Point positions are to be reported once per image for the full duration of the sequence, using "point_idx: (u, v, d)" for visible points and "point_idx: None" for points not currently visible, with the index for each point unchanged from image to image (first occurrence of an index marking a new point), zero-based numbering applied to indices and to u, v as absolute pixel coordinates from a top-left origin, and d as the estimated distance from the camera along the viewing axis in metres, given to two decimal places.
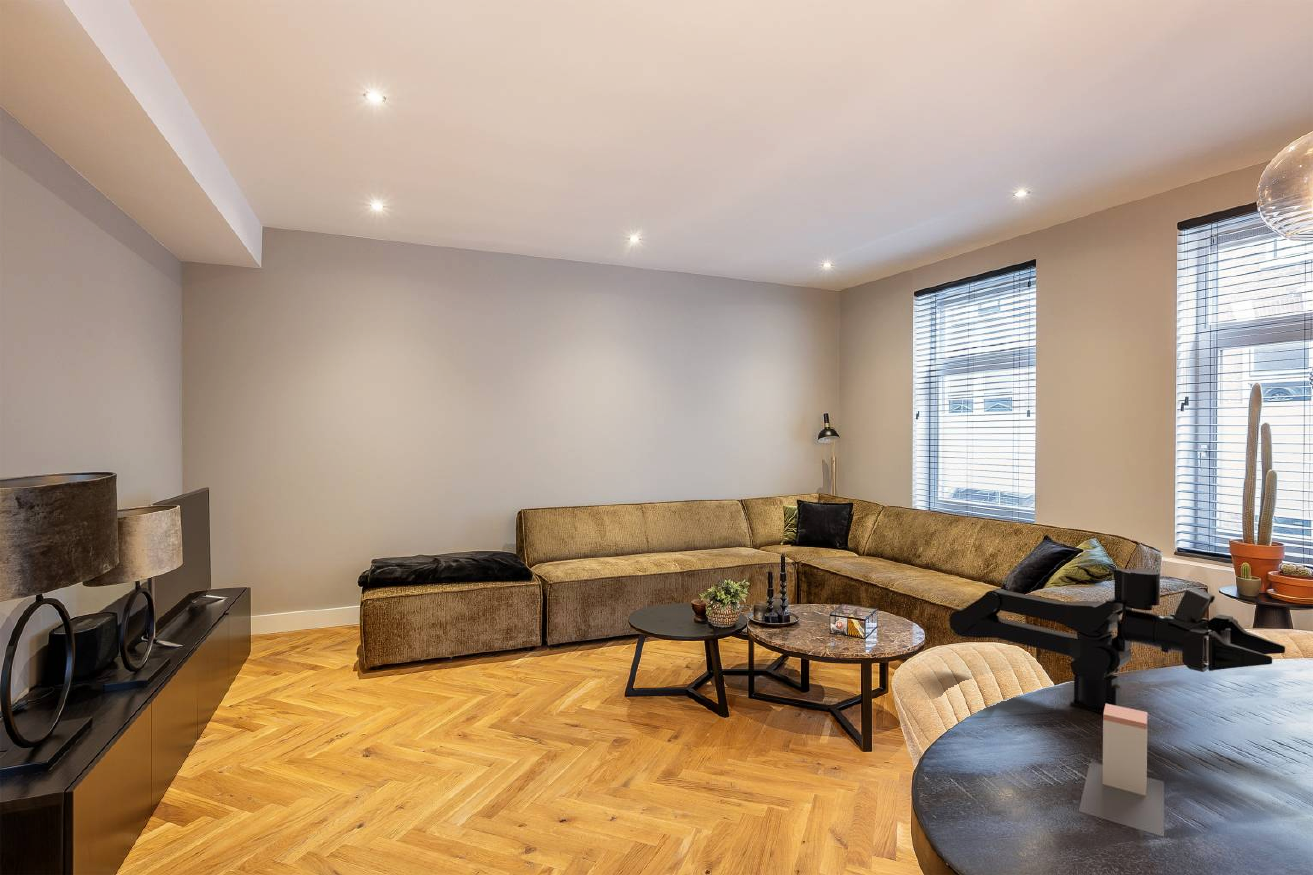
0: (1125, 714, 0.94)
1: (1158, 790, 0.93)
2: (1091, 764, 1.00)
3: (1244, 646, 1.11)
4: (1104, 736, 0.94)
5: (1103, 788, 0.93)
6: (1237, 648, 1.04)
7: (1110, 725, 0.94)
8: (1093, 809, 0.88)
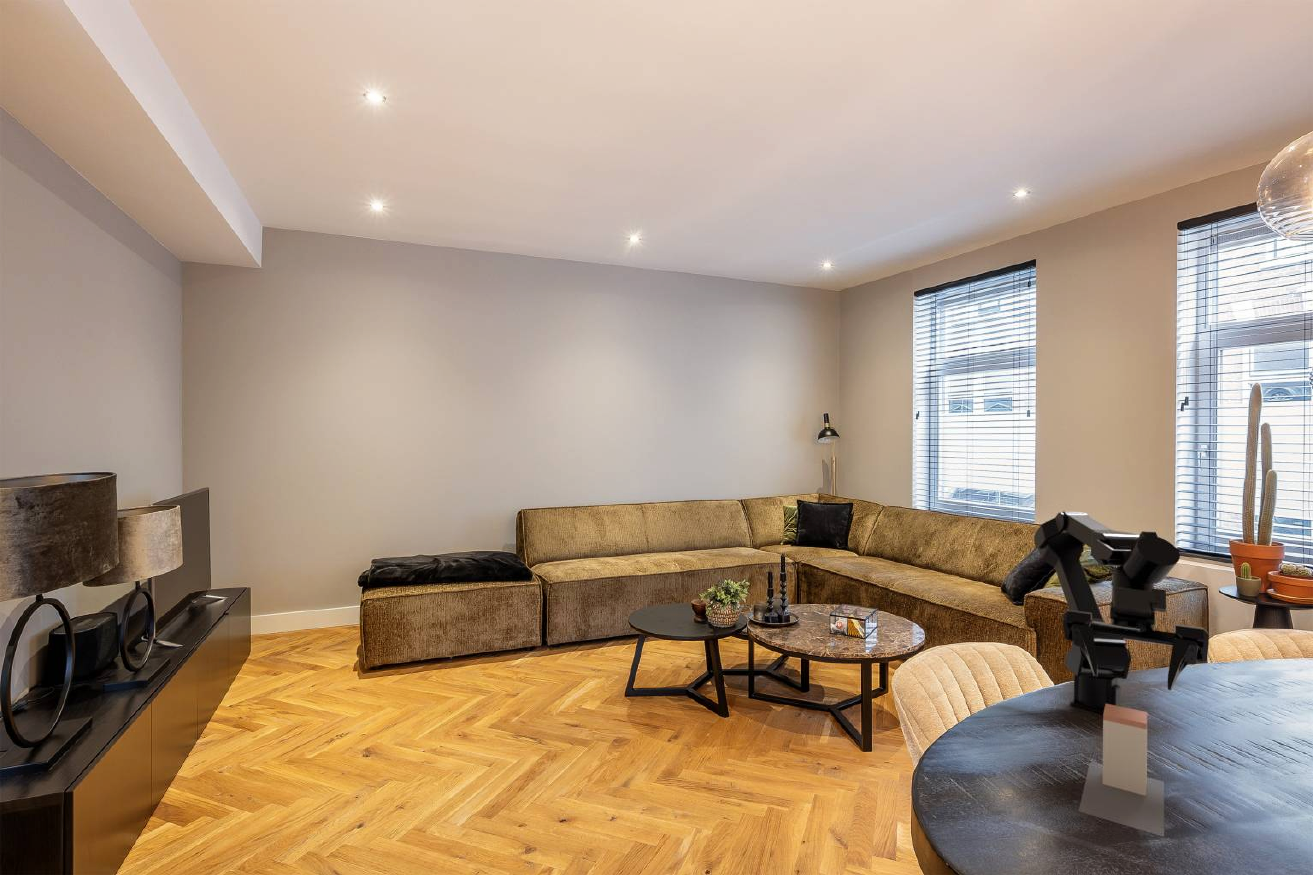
0: (1125, 714, 0.94)
1: (1158, 790, 0.93)
2: (1091, 764, 1.00)
3: None
4: (1104, 736, 0.94)
5: (1103, 788, 0.93)
6: (1086, 648, 1.06)
7: (1110, 725, 0.94)
8: (1093, 809, 0.88)
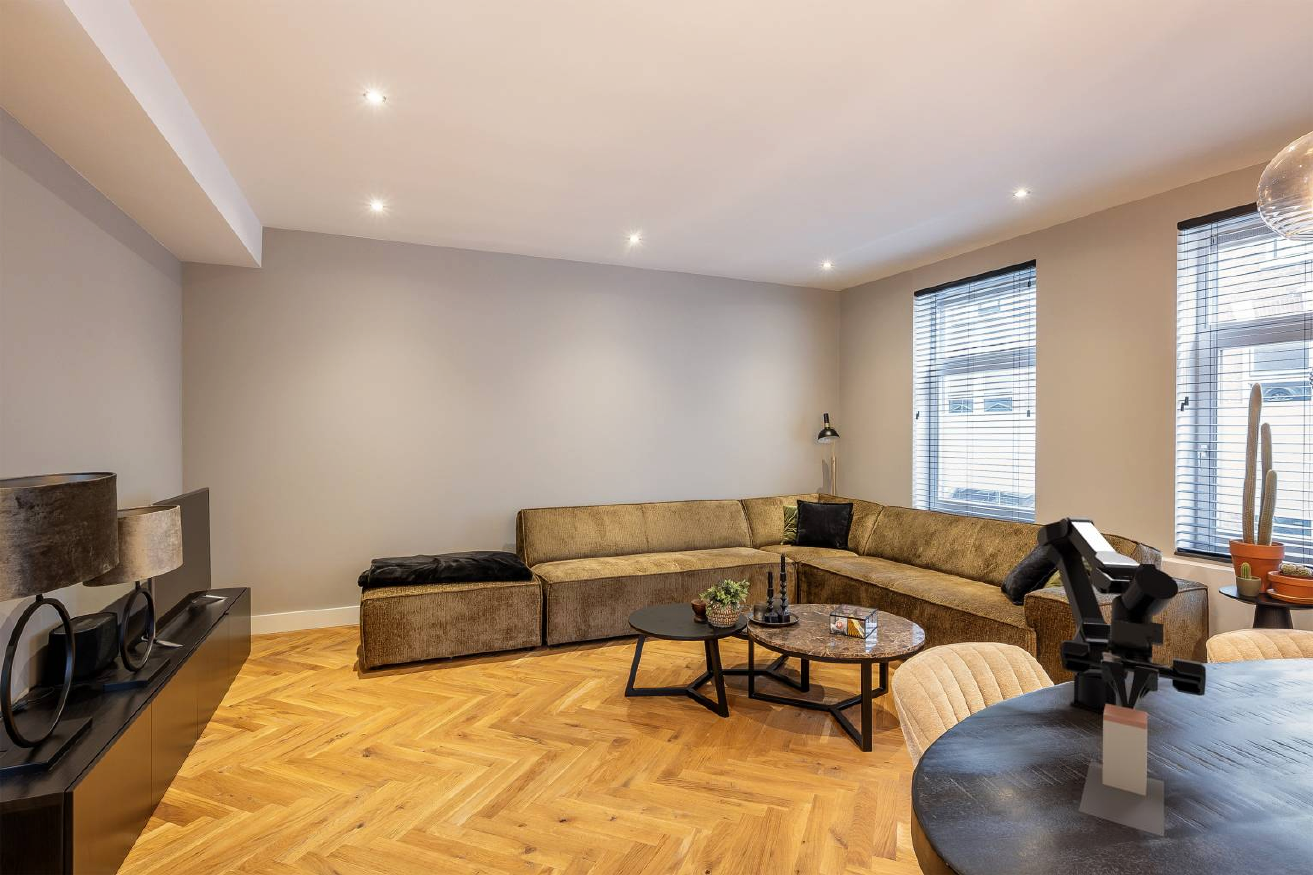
0: (1125, 714, 0.94)
1: (1158, 790, 0.93)
2: (1091, 764, 1.00)
3: None
4: (1104, 736, 0.94)
5: (1103, 788, 0.93)
6: (1116, 687, 1.04)
7: (1110, 725, 0.94)
8: (1093, 809, 0.88)
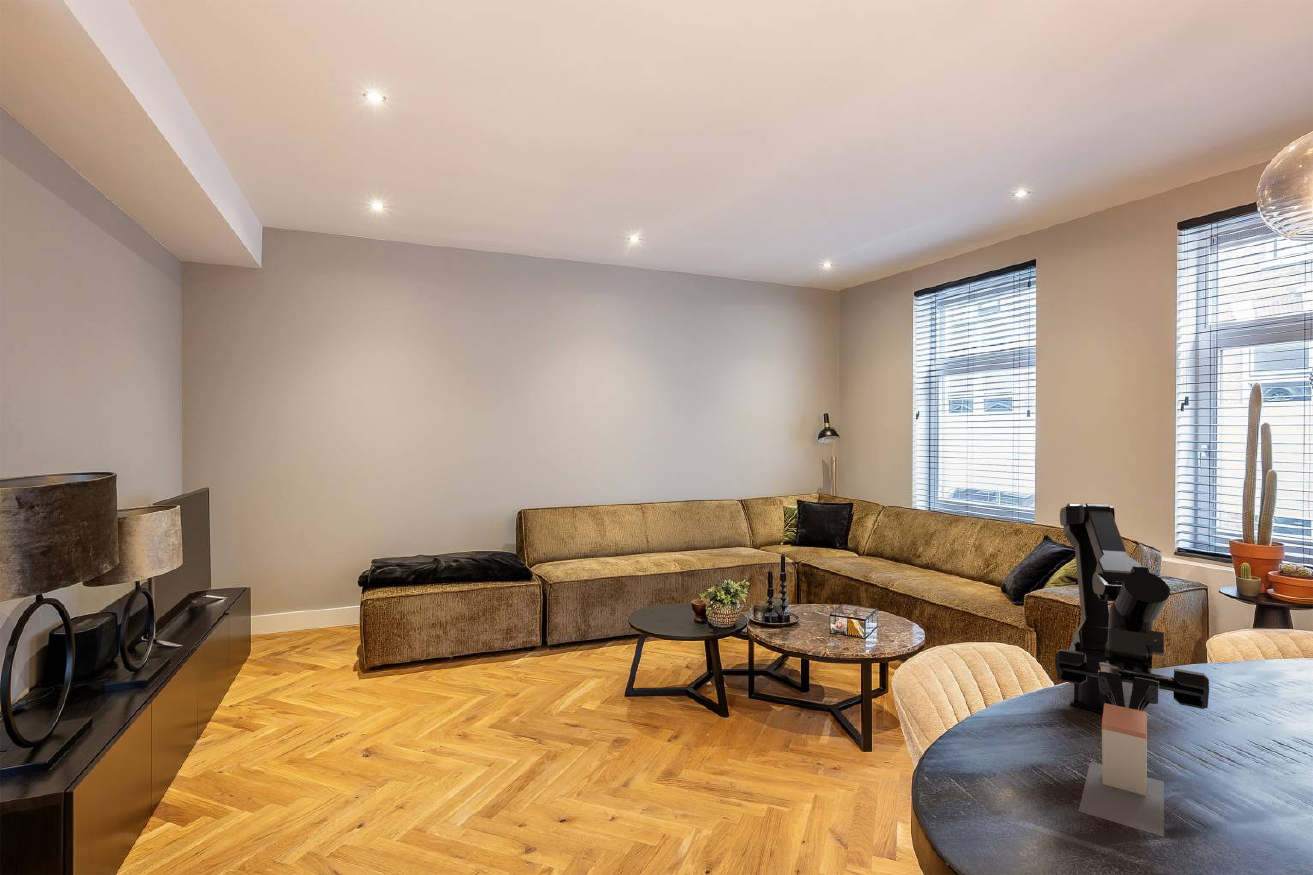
0: (1125, 720, 0.92)
1: (1158, 790, 0.93)
2: (1091, 764, 1.00)
3: None
4: (1103, 743, 0.93)
5: (1103, 788, 0.93)
6: (1114, 699, 0.98)
7: (1109, 734, 0.92)
8: (1093, 809, 0.88)
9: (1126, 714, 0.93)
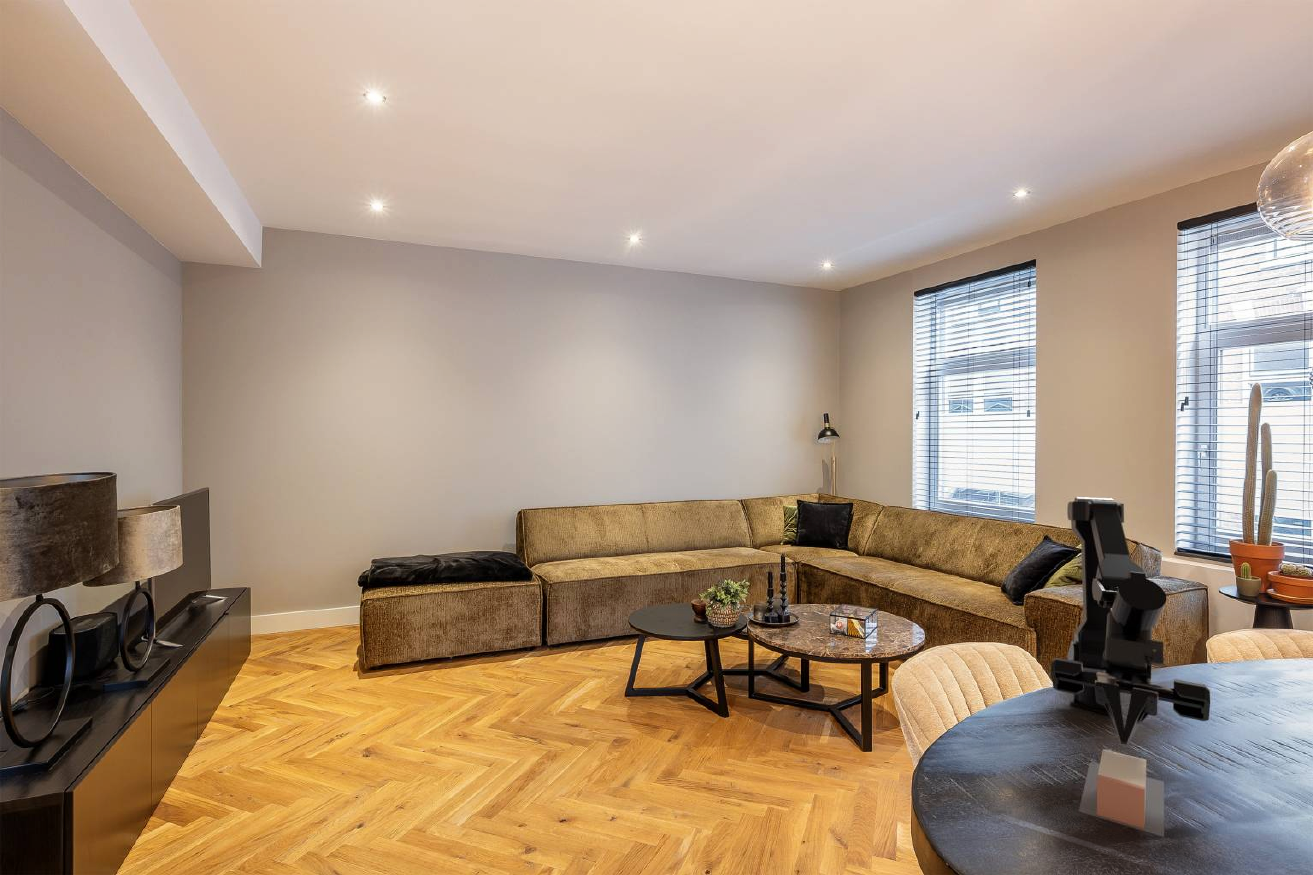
0: (1121, 807, 0.85)
1: (1158, 790, 0.93)
2: (1091, 764, 1.00)
3: None
4: None
5: None
6: (1112, 710, 0.94)
7: None
8: (1093, 809, 0.88)
9: (1122, 795, 0.85)
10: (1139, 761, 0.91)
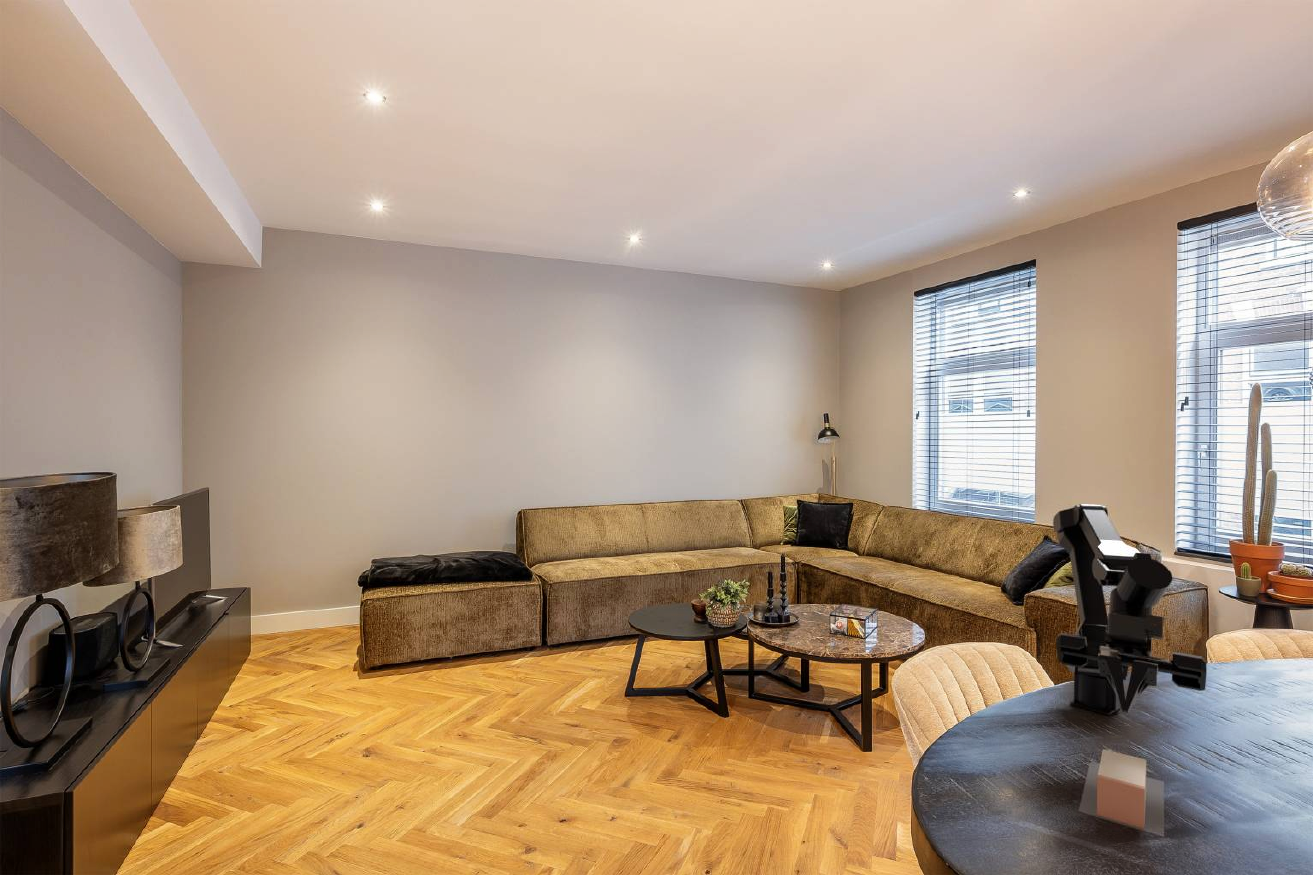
0: (1121, 807, 0.85)
1: (1158, 790, 0.93)
2: (1091, 764, 1.00)
3: None
4: None
5: None
6: (1114, 681, 1.00)
7: None
8: (1093, 809, 0.88)
9: (1122, 795, 0.85)
10: (1139, 761, 0.91)
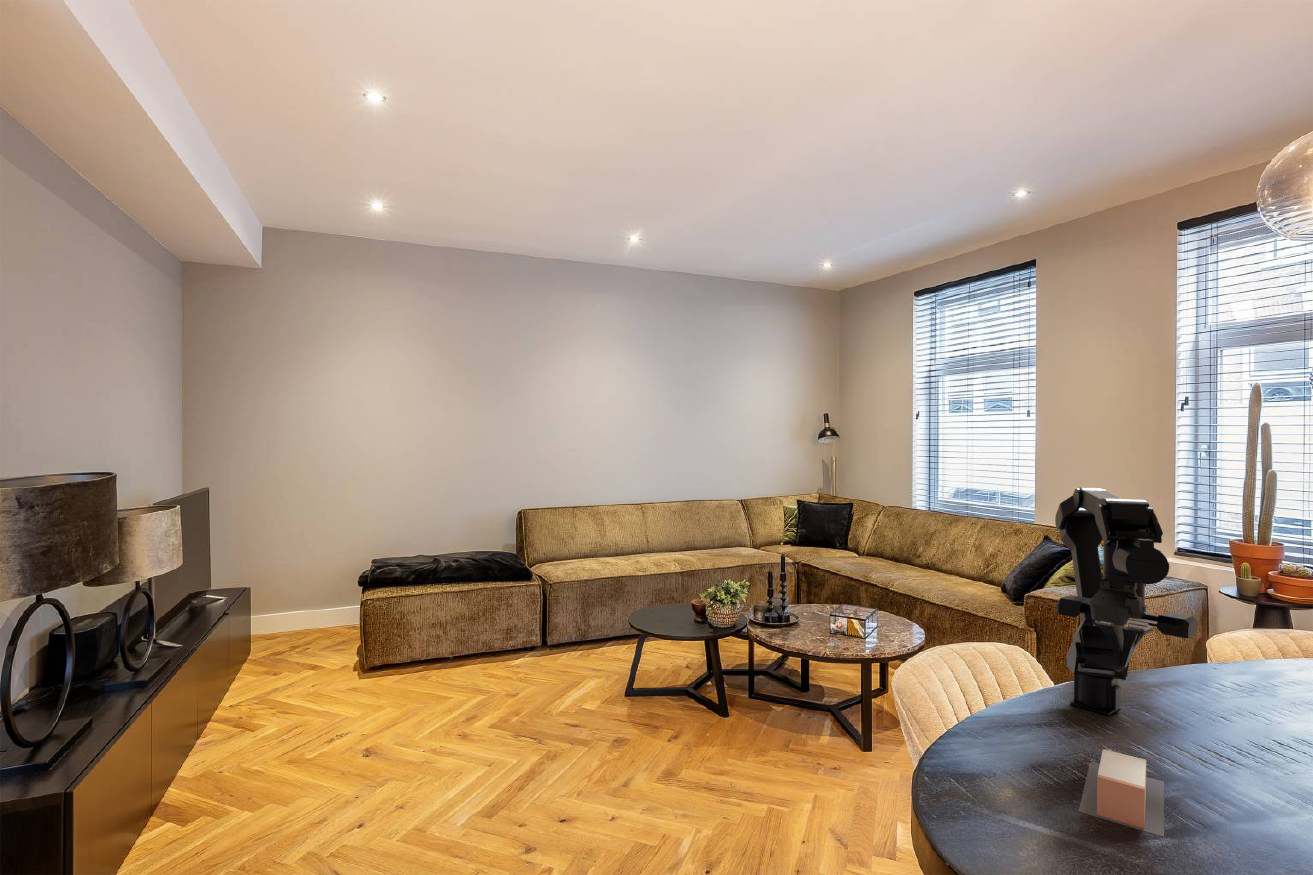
0: (1121, 807, 0.85)
1: (1158, 790, 0.93)
2: (1091, 764, 1.00)
3: None
4: None
5: None
6: (1110, 642, 1.11)
7: None
8: (1093, 809, 0.88)
9: (1122, 795, 0.85)
10: (1139, 761, 0.91)
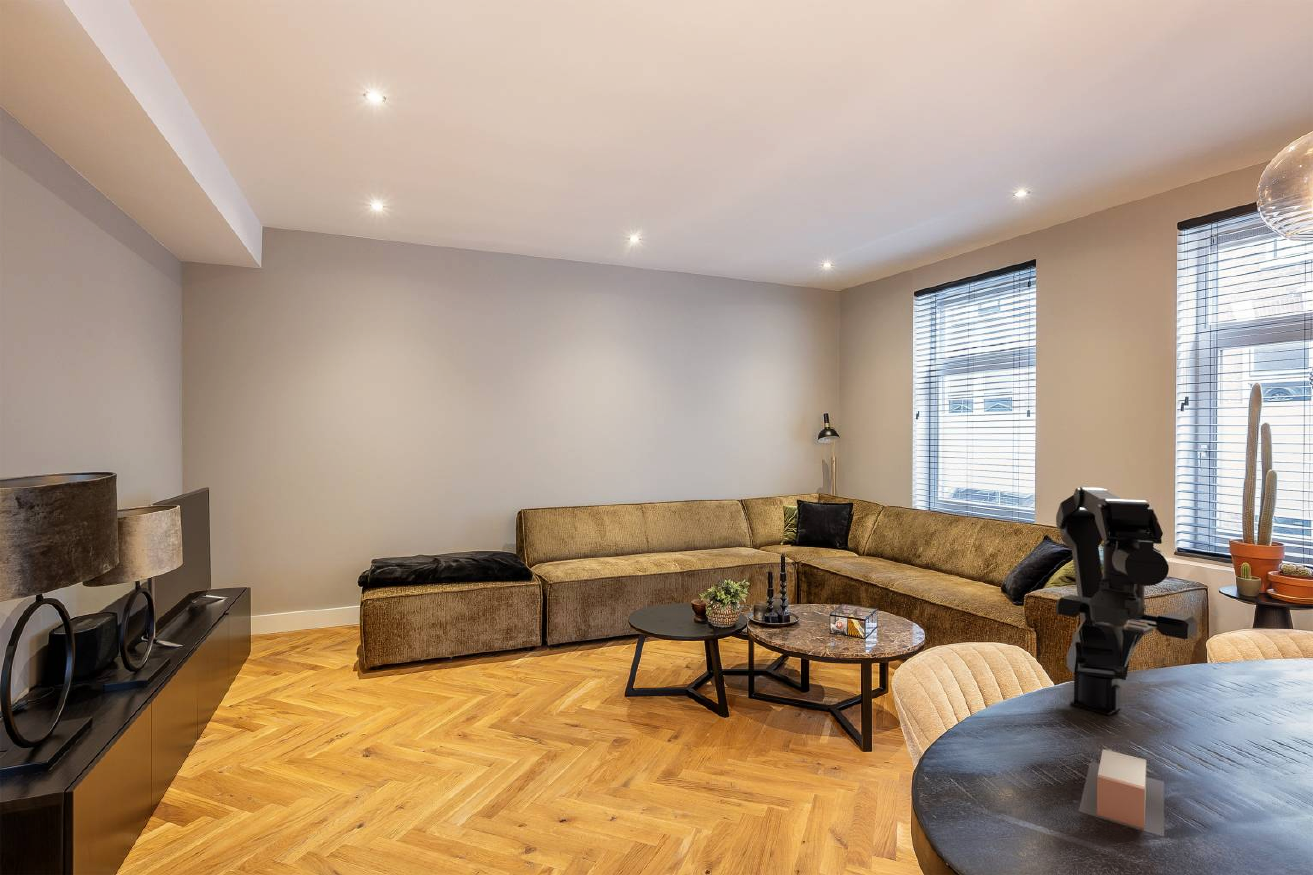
0: (1121, 807, 0.85)
1: (1158, 790, 0.93)
2: (1091, 764, 1.00)
3: None
4: None
5: None
6: (1110, 642, 1.11)
7: None
8: (1093, 809, 0.88)
9: (1122, 795, 0.85)
10: (1139, 761, 0.91)
